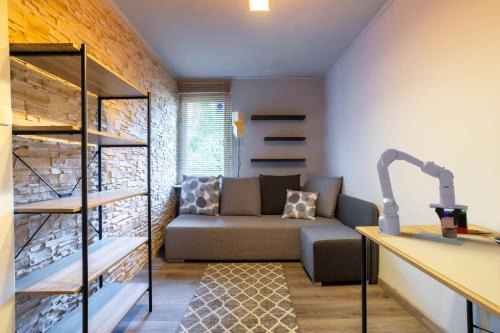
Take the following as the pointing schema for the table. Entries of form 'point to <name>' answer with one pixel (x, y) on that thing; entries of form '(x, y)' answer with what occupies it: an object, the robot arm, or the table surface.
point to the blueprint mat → (440, 238)
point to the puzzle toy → (461, 223)
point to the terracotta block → (448, 222)
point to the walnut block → (449, 233)
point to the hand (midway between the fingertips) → (449, 224)
